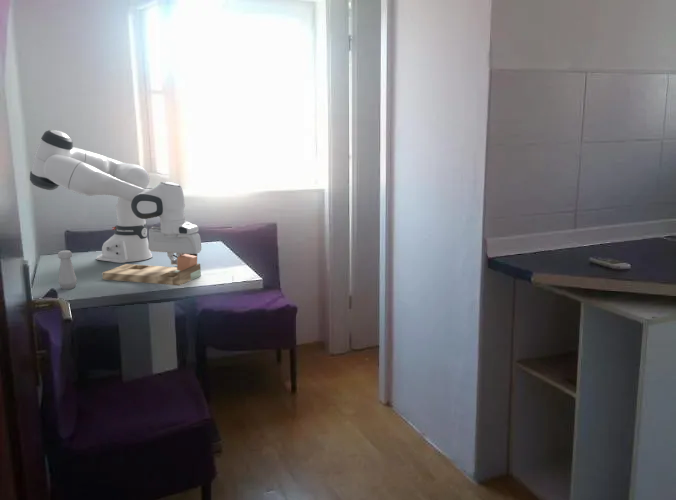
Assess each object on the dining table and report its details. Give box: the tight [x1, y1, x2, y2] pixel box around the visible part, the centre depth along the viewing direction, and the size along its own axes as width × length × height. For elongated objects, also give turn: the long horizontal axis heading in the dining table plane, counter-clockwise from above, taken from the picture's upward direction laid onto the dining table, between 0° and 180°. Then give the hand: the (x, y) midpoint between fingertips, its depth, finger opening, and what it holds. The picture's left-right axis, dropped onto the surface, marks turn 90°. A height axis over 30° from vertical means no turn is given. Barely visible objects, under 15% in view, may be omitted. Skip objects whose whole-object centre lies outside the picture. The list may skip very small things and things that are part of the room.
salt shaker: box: [57, 249, 78, 290], centre depth 217 cm, size 6×6×13 cm
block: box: [176, 254, 198, 271], centre depth 229 cm, size 5×5×5 cm
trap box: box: [101, 263, 202, 286], centre depth 231 cm, size 32×14×4 cm, turn 72°
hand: (175, 264), depth 231 cm, fingers closed
